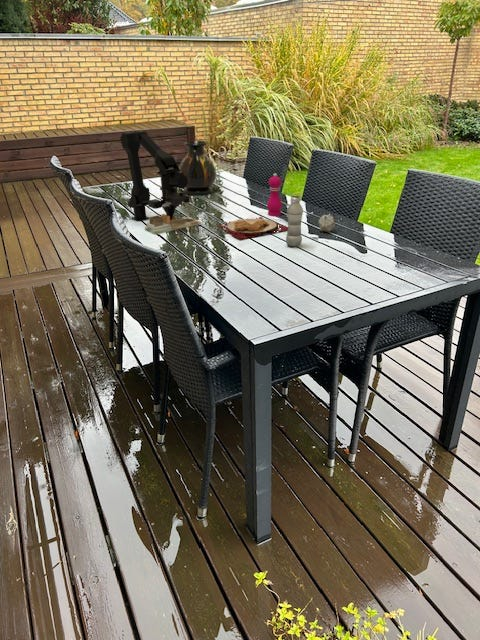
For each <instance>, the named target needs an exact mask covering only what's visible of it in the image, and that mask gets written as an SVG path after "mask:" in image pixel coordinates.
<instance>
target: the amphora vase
mask: <svg viewBox="0 0 480 640" xmlns="http://www.w3.org/2000/svg"><path fill="white" fill-rule="evenodd" d="M207 145H208V143H207V141H204V140H203V141H202V140H191V141H186V142H184V146H185V147H187V149H188V152H187V154H186V155H185V156H184V158H182V160H181V162H180V165H179V169H180V172H183V173H184V175H185V176H186V177H187V179H188V183H187V186H186V187H185V188H184V190H183V192H184V193H185V194H186V195H189V196H190V195H191V196H203V195H208V194H210V193H211V192H213V188H212V186H213V185H214V183H215V182H216V179H217V172H216V167H215V165H214V163H213V161H212V159H211V158H210V156H208V155H207V154H206V152H205V146H207Z"/></svg>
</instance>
